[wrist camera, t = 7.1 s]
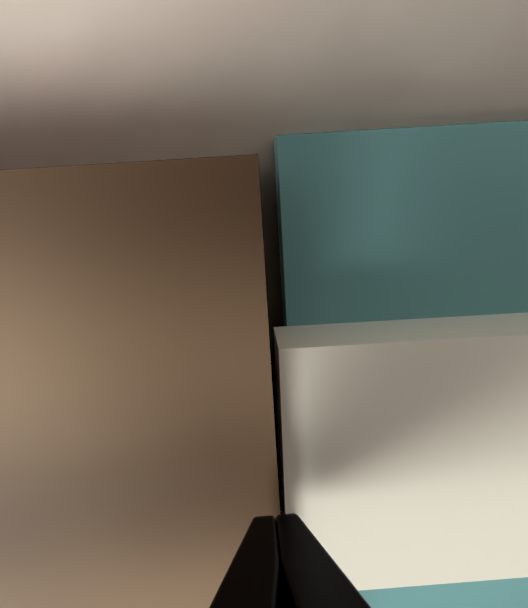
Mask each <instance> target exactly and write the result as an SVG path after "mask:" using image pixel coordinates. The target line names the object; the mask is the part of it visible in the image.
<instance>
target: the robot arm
mask: <svg viewBox="0 0 528 608" xmlns="http://www.w3.org/2000/svg"><path fill="white" fill-rule="evenodd" d="M209 608H371V606H370V605H369V604H368V603H367V601H366V600H365V599H364V598H363V596H362V595H361V594H360V593H359V591H358V590H357V589H356V587H355V586H354V585H353V584H352V582H351V581H350V580H349V579H348V577H347V576H346V575H345V574H344V572H343V571H342V570H341V569H340V567H339V566H338V565H337V564H336V562H335V561H334V560H333V559H332V557H331V556H330V555H329V554H328V552H327V551H326V550H325V549H324V547H323V546H322V545H321V543H320V542H319V541H318V540H317V538H316V537H315V536H314V535H313V533H312V532H311V531H310V530H309V528H308V527H307V526H306V525H305V523H304V522H303V521H302V520H301V518H300V517H299V516H298V515H297V514H295V513H290V514H279V515H277V516H276V521H275V517H274V516H273V515H268V516H257V517H254V518H253V520H252V521H251V523H250V525H249V527H248V530H247V532H246V534H245V536H244V538H243V540H242V542H241V544H240V546H239V548H238V550H237V552H236V554H235V556H234V558H233V560H232V562H231V564H230V566H229V568H228V570H227V572H226V574H225V576H224V578H223V580H222V582H221V584H220V586H219V588H218V590H217V592H216V594H215V597H214V599H213V601H212V603H211V605H210V607H209Z"/></svg>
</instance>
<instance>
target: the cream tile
mask: <svg viewBox="0 0 528 608" xmlns="http://www.w3.org/2000/svg"><path fill="white" fill-rule="evenodd" d="M274 350H275V373H276V397H277V421H278V445H279V469H280V493H281V514H290V513H295V514H297V515H298V516H299V517H300V518H301V520H302V521H303V522H304V523H305V525H306V526H307V527H308V528H309V530H310V531H311V532H312V533H313V535H314V536H315V537H316V538H317V540H318V541H319V542H320V543H321V545H322V546H323V547H324V549H325V550H326V551H327V552H328V554H329V555H330V556H331V557H332V559H333V560H334V561H335V562H336V564H337V565H338V566H339V567H340V569H341V570H342V571H343V572H344V574H345V575H346V576H347V577H348V579H349V580H350V581H351V582H352V584H353V585H354V586H355V587H356V589H357V590H358V591H360V590H373V589H386V588H398V587H411V586H423V585H436V584H448V583H461V582H474V581H486V580H499V579H511V578H524V577H528V312H525V313H508V314H490V315H473V316H456V317H438V318H421V319H404V320H386V321H369V322H352V323H335V324H317V325H300V326H283V327H274Z"/></svg>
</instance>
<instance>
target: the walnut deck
mask: <svg viewBox="0 0 528 608" xmlns="http://www.w3.org/2000/svg"><path fill="white" fill-rule="evenodd" d="M279 514H280V502H279V486H278V470H277V454H276V438H275V422H274V406H273V390H272V374H271V358H270V342H269V325H268V309H267V293H266V277H265V261H264V245H263V229H262V213H261V197H260V181H259V165H258V154H254V155H237V156H221V157H205V158H188V159H172V160H156V161H140V162H123V163H107V164H91V165H75V166H58V167H42V168H26V169H9V170H0V608H209V607H210V605H211V603H212V601H213V599H214V597H215V594H216V592H217V590H218V588H219V586H220V584H221V582H222V580H223V578H224V576H225V574H226V572H227V570H228V568H229V566H230V564H231V562H232V560H233V558H234V556H235V554H236V552H237V550H238V548H239V546H240V544H241V542H242V540H243V538H244V536H245V534H246V532H247V530H248V527H249V525H250V523H251V521H252V520H253V518H254V517H257V516H268V515H273V516H274V517H275V521H276V516H277V515H279Z"/></svg>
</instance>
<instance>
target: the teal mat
mask: <svg viewBox="0 0 528 608" xmlns="http://www.w3.org/2000/svg"><path fill="white" fill-rule="evenodd" d="M274 156H275V175H276V194H277V212H278V231H279V250H280V268H281V287H282V305H283V324H284V326H300V325H317V324H335V323H352V322H369V321H386V320H404V319H421V318H438V317H456V316H473V315H490V314H508V313H525V312H528V120H523V121H506V122H489V123H473V124H456V125H439V126H423V127H406V128H390V129H373V130H356V131H340V132H323V133H307V134H290V135H277V136H276V138H275V139H274ZM359 593H360V594H361V595H362V596H363V598H364V599H365V600H366V601H367V603H368V604H369V605H370V606H371V608H528V577H524V578H511V579H499V580H486V581H474V582H461V583H448V584H436V585H423V586H411V587H398V588H386V589H373V590H360V591H359Z"/></svg>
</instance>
